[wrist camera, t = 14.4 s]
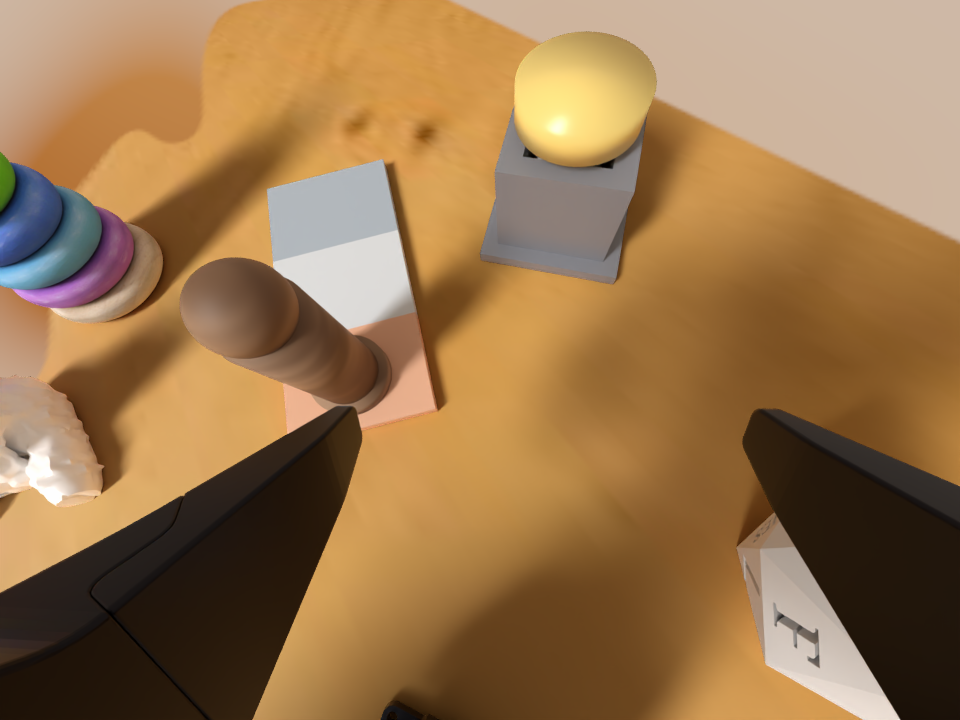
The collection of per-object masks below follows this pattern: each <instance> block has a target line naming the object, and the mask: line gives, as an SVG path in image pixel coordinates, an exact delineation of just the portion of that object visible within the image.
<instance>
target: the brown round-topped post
mask: <svg viewBox="0 0 960 720" xmlns="http://www.w3.org/2000/svg"><path fill="white" fill-rule="evenodd" d="M180 313H181V316H182V320H183V322H184V324H185V326H186V328H187V330H188V331H189V333H190V334H191V335H192V336H193V337H194V338H195V339H196V340H197V341H198V342H199V343H200V344H201V345H203V346H204V347H205V348H207V349H209V350H211V351H213V352H215V353H217V354H220V355H222V356H223V357H224V358H225V359H227V360H228V361H230V362H232V363H234V364H236V365H239V366H241V367H244V368H246V369H249V370H252V371H254V372H257V373H259V374H262V375H264V376H267V377H269V378H272V379H274V380H277V381H279V382H282V383H284V384H287V385H289V386H292V387H294V388H297V389H300V390H302V391H305V392H307V393H310V394H311V395H312V397H313V398H314V400H315V401H316V402H317V403H318V404H319V405H320V406H321V407H323V408H324V409H326V410H330V409H332V408H334V407H335V406H353V407H355V409H356V411H357V414H358V415H359V414H362V413H365V412H367V411H369V410H371V409H373V408H374V407H375V406H377V405H378V404H379V403H380V402H381V401H382V399H383V398H384V397H385V395H386V394H387V392H388V390H389V387H390V384H391V380H392V368H391V364H390V361H389V358H388V357H387V355H386V353H385V352H384V351H383V350H382V349H381V348H380V347H379V346H378V345H377V344H376V343H374V342H373V341H372V340H370V339H368V338H366V337H363V336H358V335H353V334H352V333H351V332H350V331H348V330H347V329H346V328H345V327H344V326H343V325H342V324H341V323H339V322H338V321H337V320H336V319H335V318H334V317H333V316H332V315H330V314H329V313H328V312H327V311H326V310H325V309H324V308H323V307H321V306H320V305H319V304H318V303H317V302H316V301H315V300H314V299H312V298H311V297H310V296H309V295H308V294H307V293H306V292H305V291H303V290H302V289H301V288H300V287H299V286H298V285H297V284H295V283H294V282H293V281H291V280H289V279H287V278H284V277H283V276H282V275H281V274H280V273H279V272H277V271H276V270H275V269H273V268H271V267H270V266H268V265H266V264H264V263H261V262H258V261H255V260H252V259H246V258H223V259H219V260H215V261H212V262H210V263H207V264H205V265H204V266H202V267H200V268H199V269H198V270H196V271H195V272H194V273H193V274H192V275H191V276H190V277H189V279H188V280H187V281H186V283H185V285H184V287H183V289H182V292H181V296H180Z"/></svg>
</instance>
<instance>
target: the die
mask: <svg viewBox="0 0 960 720" xmlns="http://www.w3.org/2000/svg"><path fill="white" fill-rule="evenodd" d="M736 548H737V552H738V556H739V560H740V564H741V568H742V572H743V576H744V580H745V581H746V588H747V592H748V596H749V600H750V604H751V608H752V612H753V616H754V620H755V624H756V628H757V632H758V636H759V640H760V644H761V648H762V652H763V656H764V660H765V664H766V665H768V666H770V667H771V668H773V669H775V670H777V671H778V672H780V673H782V674H784V675H785V676H787V677H789V678H791V679H793V680H794V681H796V682H798V683H800V684H801V685H803V686H805V687H807V688H808V689H810V690H812V691H814V692H815V693H817V694H819V695H821V696H822V697H824V698H826V699H828V700H829V701H831V702H833V703H835V704H836V705H838V706H840V707H842V708H843V709H845V710H847V711H849V712H850V713H852V714H854V715H856V716H857V717H859V718H861V719H863V720H900V719H899V717H898V716H897V714H896V712H895V711H894V709H893V707H892V706H891V704H890V702H889V701H888V699H887V697H886V696H885V694H884V692H883V691H882V689H881V688H880V686H879V684H878V683H877V681H876V679H875V678H874V676H873V674H872V673H871V671H870V669H869V668H868V666H867V665H866V663H865V661H864V660H863V658H862V656H861V655H860V653H859V651H858V650H857V648H856V646H855V645H854V643H853V641H852V640H851V638H850V637H849V635H848V633H847V632H846V630H845V628H844V627H843V625H842V623H841V622H840V620H839V618H838V617H837V615H836V614H835V612H834V610H833V609H832V607H831V605H830V604H829V602H828V600H827V599H826V597H825V595H824V594H823V592H822V590H821V589H820V587H819V586H818V584H817V582H816V581H815V579H814V577H813V576H812V574H811V572H810V571H809V569H808V567H807V566H806V564H805V563H804V561H803V559H802V558H801V556H800V554H799V553H798V551H797V549H796V548H795V546H794V544H793V543H792V541H791V539H790V538H789V536H788V535H787V533H786V531H785V530H784V528H783V526H782V525H781V523H780V521H779V520H778V518H777V516H776V514H775V513H773V514H772V515H771V516H769V517H768V518H767V519H766V520H765V521H764V522H763V523H762V524H761V525H760V526H759V527H758V528H757V529H756V530H754V531H753V532H752V533H751V534H750V535H749V536H748V537H747V538H746V539H745V540H744V541H743V542H742V543H741V544H739V545H738V546H737V547H736Z"/></svg>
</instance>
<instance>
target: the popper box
mask: <svg viewBox="0 0 960 720" xmlns="http://www.w3.org/2000/svg"><path fill="white" fill-rule="evenodd" d="M646 118H647V115H646ZM646 118H645V120H644V123H643V125H642V128H641V131H640V133H639V135H638V137H637V139H636V140H635V142H634V143H633V144H632V145H631V146H630V148H629V149H627V150H626V151H625V152H624V153H623V154H621V155H619V156H618V157H616V158H614V159H612V160H610V161H608V162H605V163H602V166H601V167H593V166H587V167H567V166H561V165H557V164H554V163H550V162H548V161H545V160H543V159H536V155H535V154H533V153H532V152H531V151H529V150H528V149H527V148H526V147H525V146H524V144H523V143H522V142H521V140H520V139H519V137H518V135H517V132H516V129H515V124H514V108H513V111H512V114H511V118H510V121H509V125H508V128H507V132H506V135H505V138H504V142H503V145H502V149H501V152H500V155H499V159H498V162H497V166H496V169H495V190H496V199H495V202H494V206H493V209H492V213H491V216H490V220H489V223H488V227H487V230H486V234H485V237H484V241H483V244H482V248H481V252H480V259H481V260H482V261H488V262H493V263H499V264H504V265H510V266H515V267H521V268H526V269H532V270H537V271H543V272H548V273H554V274H559V275H565V276H570V277H576V278H581V279H587V280H592V281H598V282H603V283H609V284H613V283H614V281H615V280H616V277H617V271H618V265H619V259H620V253H621V247H622V241H623V235H624V229H625V223H626V217H627V211H628V206H629V203H630V201H631V199H632V197H633V195H634V192H635V186H636V180H637V174H638V168H639V162H640V156H641V149H642V143H643V137H644V131H645V125H646Z"/></svg>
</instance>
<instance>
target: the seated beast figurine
mask: <svg viewBox="0 0 960 720" xmlns="http://www.w3.org/2000/svg"><path fill="white" fill-rule="evenodd" d="M89 437H90V436H88V435H87V434H86V433H85V432H84V429H83V424H82V421H80V420H78V419H77V416H76V413H75V410H74V407H73V404H72V402H70V401H68V400H67V396H66V394H63V393H61V392H58V391H56V390H54V389H53V388H52V387H51V386H50V385H49V384H47V383H45V382H42V381H40V380H38V379H35V378H33V377H18V376H16V375H14V376H12V377H8V378H0V498H1V497H4V496H6V495H9V494H12V493H18V492H22V491H24V490H30V489H31V488H32V487H34V488H36V489H38V491H39V493H40V494H43V495H44V496H45V497H46V499H47V500H48V501H49V502H51V503H52V504H54V505H55V506H57V507H69V506H75V505H79V504H83V503H86V502H89V501H92V500H93V499H94V498H95V496H99V495H101V490H102V487H103V478H102V468H104V465H100V464H98V462H97V458H96V455H95V453H94V451H93V449H92V447H91V444H90V442H89Z"/></svg>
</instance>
